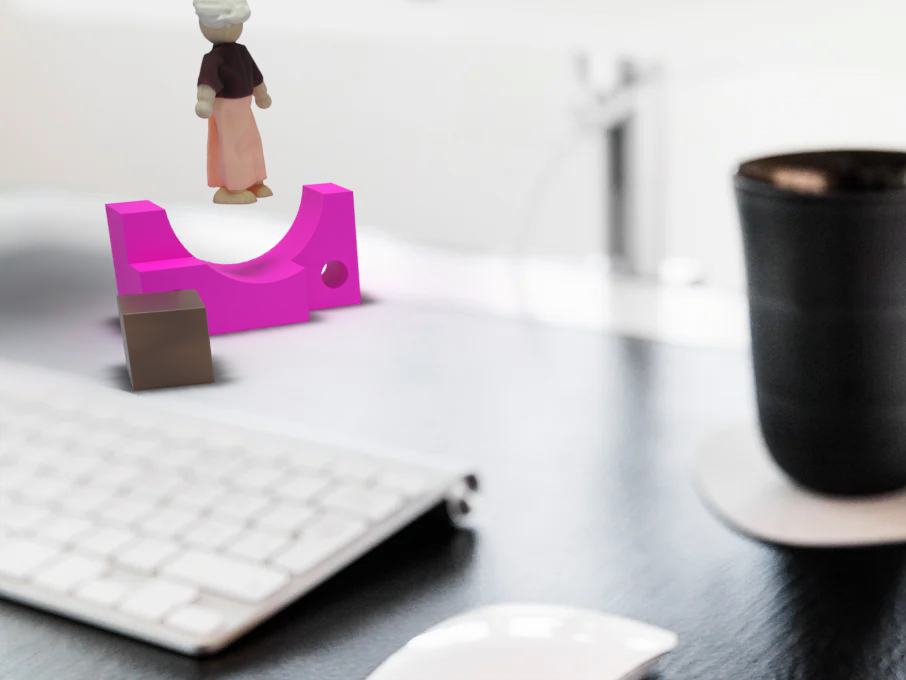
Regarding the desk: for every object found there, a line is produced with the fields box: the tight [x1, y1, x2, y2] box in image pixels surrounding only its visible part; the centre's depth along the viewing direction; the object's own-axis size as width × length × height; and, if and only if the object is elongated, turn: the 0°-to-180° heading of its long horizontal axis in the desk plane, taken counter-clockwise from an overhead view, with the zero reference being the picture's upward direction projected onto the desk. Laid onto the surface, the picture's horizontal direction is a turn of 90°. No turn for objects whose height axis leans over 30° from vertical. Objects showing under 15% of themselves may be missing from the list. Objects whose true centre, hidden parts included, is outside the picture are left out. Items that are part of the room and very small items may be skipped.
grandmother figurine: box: [192, 0, 274, 205], centre depth 87 cm, size 8×4×13 cm, turn 174°
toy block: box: [104, 182, 362, 337], centre depth 91 cm, size 15×6×8 cm, turn 122°
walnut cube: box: [116, 289, 216, 392], centre depth 80 cm, size 4×4×4 cm
